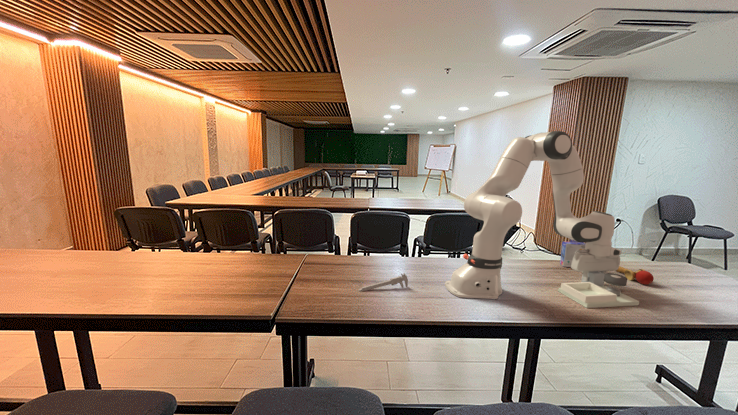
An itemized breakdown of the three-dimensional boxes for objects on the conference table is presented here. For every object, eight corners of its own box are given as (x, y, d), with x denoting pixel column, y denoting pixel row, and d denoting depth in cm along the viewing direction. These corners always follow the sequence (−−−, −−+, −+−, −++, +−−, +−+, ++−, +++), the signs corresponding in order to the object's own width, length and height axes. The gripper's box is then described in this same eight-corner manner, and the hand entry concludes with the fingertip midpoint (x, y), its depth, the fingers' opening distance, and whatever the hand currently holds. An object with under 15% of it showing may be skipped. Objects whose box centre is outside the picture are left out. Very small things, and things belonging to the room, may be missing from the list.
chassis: (586, 307, 112) (588, 297, 111) (558, 291, 126) (559, 282, 125) (638, 305, 115) (640, 295, 115) (605, 289, 129) (606, 280, 128)
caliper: (406, 286, 127) (407, 272, 126) (407, 287, 126) (408, 273, 125) (358, 290, 122) (358, 275, 121) (358, 291, 121) (359, 276, 120)
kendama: (607, 273, 151) (639, 284, 133) (610, 261, 151) (643, 269, 132) (623, 277, 151) (657, 287, 133) (626, 264, 150) (660, 273, 132)
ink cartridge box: (580, 265, 158) (583, 237, 156) (585, 268, 153) (589, 240, 150) (558, 263, 160) (562, 236, 158) (563, 267, 155) (567, 239, 152)
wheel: (615, 286, 117) (616, 280, 116) (599, 279, 123) (600, 273, 123) (631, 286, 118) (632, 279, 117) (614, 278, 124) (615, 272, 124)
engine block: (592, 288, 130) (594, 274, 129) (581, 282, 136) (583, 269, 135) (603, 287, 130) (605, 274, 129) (591, 282, 136) (593, 269, 135)
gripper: (581, 252, 126) (577, 284, 128) (625, 251, 129) (619, 282, 131) (569, 247, 132) (565, 278, 134) (611, 246, 135) (606, 276, 137)
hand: (592, 280), depth 133 cm, fingers closed on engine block, 5 cm apart
